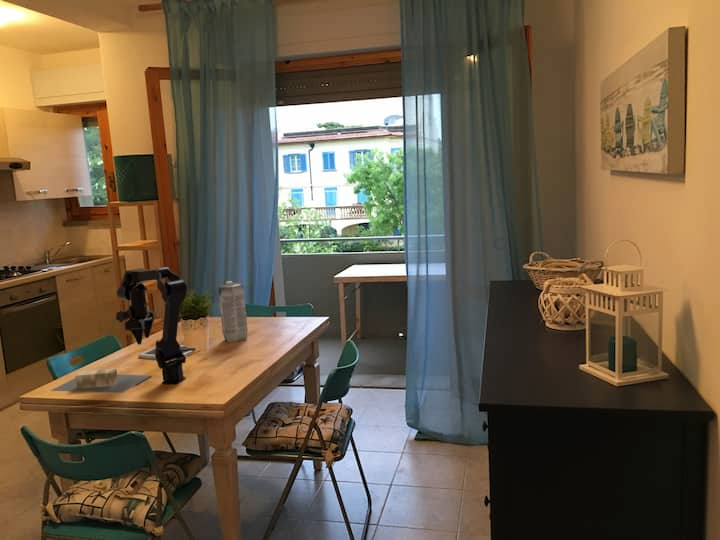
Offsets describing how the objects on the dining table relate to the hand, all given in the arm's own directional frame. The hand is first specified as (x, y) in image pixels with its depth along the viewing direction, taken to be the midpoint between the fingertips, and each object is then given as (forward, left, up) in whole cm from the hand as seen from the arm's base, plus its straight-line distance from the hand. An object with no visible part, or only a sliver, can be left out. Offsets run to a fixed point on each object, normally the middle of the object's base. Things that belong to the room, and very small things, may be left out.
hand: (143, 341), depth 230 cm
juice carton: (-15, -47, -13) cm, 51 cm away
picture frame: (+5, -25, -14) cm, 29 cm away
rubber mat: (+11, +13, -13) cm, 21 cm away
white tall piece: (+5, +13, -10) cm, 17 cm away
